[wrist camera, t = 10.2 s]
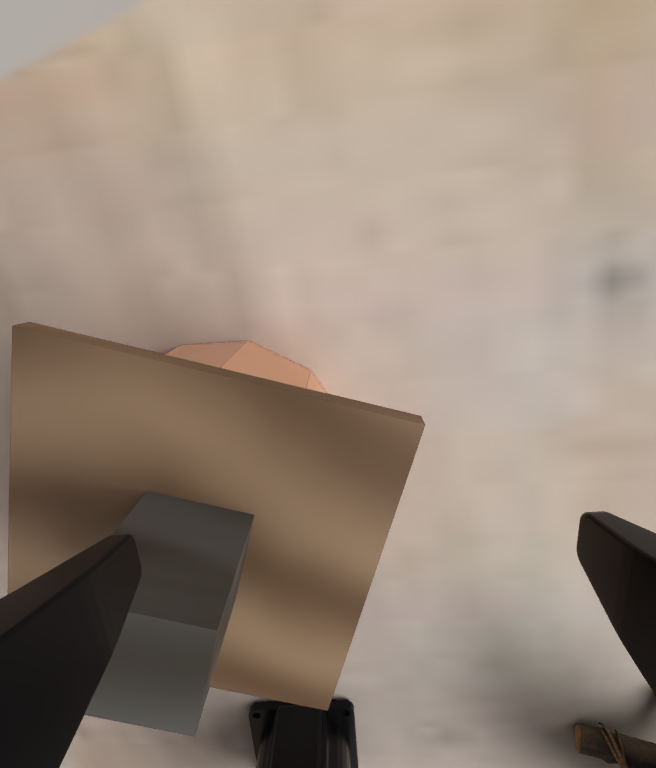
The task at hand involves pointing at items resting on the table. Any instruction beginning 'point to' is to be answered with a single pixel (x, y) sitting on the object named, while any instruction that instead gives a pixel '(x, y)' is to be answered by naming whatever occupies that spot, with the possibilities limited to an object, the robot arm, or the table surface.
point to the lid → (203, 516)
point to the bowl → (249, 362)
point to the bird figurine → (615, 747)
